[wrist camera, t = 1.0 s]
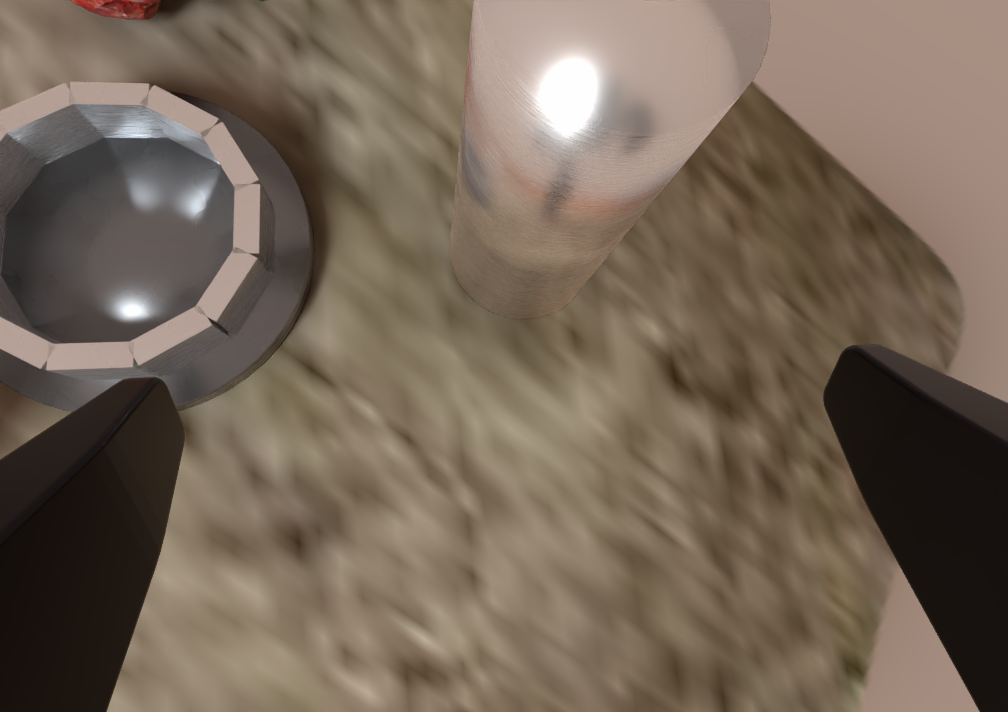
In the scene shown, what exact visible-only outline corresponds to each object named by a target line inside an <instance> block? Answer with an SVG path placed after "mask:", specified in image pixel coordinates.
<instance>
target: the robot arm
mask: <svg viewBox="0 0 1008 712" xmlns="http://www.w3.org/2000/svg"><path fill="white" fill-rule="evenodd" d="M823 401H824V406H825V409H826V412H827V414H828V417H829V419H830V421H831V424H832V426H833V429H834V431H835V433H836V436H837V438H838V440H839V443H840V445H841V448H842V450H843V452H844V455H845V457H846V459H847V462H848V464H849V467H850V469H851V471H852V474H853V476H854V478H855V481H856V483H857V486H858V488H859V490H860V492H861V494H862V497H863V499H864V501H865V503H866V505H867V507H868V509H869V511H870V513H871V515H872V517H873V518H874V520H875V522H876V524H877V526H878V527H879V529H880V531H881V533H882V535H883V537H884V538H885V540H886V542H887V544H888V546H889V547H890V549H891V551H892V553H893V555H894V557H895V558H896V560H897V562H898V564H899V566H900V568H901V569H902V571H903V573H904V575H905V577H906V578H907V580H908V582H909V584H910V586H911V588H912V589H913V591H914V593H915V595H916V597H917V598H918V600H919V602H920V604H921V606H922V608H923V609H924V611H925V613H926V615H927V617H928V618H929V620H930V622H931V624H932V626H933V627H934V629H935V631H936V633H937V635H938V637H939V638H940V640H941V642H942V644H943V646H944V648H945V649H946V651H947V653H948V655H949V657H950V658H951V660H952V662H953V664H954V666H955V668H956V669H957V671H958V673H959V675H960V676H961V679H962V680H963V682H964V684H965V686H966V687H967V689H968V691H969V693H970V695H971V697H972V699H973V700H974V702H975V704H976V706H977V707H978V710H979V711H980V712H1008V403H1007V402H1004V401H1002V400H1000V399H998V398H995V397H993V396H991V395H989V394H987V393H985V392H982V391H980V390H978V389H976V388H974V387H972V386H969V385H967V384H965V383H963V382H961V381H958V380H956V379H954V378H952V377H950V376H947V375H945V374H943V373H941V372H939V371H936V370H934V369H932V368H930V367H928V366H926V365H923V364H921V363H919V362H917V361H915V360H912V359H910V358H908V357H906V356H904V355H901V354H899V353H897V352H895V351H893V350H890V349H888V348H886V347H884V346H881V345H876V344H870V345H852V346H849V347H847V348H846V349H845V350H844V351H843V352H842V353H841V355H840V357H839V359H838V361H837V363H836V366H835V368H834V370H833V372H832V374H831V376H830V379H829V381H828V383H827V385H826V387H825V390H824V395H823ZM184 441H185V432H184V426H183V423H182V420H181V418H180V415H179V413H178V411H177V408H176V406H175V403H174V401H173V399H172V396H171V394H170V392H169V389H168V387H167V385H166V383H165V382H164V381H163V380H162V379H160V378H158V377H140V378H127V379H123V380H121V381H119V382H118V383H116V384H115V385H113V386H112V387H110V388H109V389H107V390H106V391H104V392H103V393H101V394H99V395H98V396H96V397H95V398H93V399H92V400H90V401H89V402H87V403H86V404H84V405H83V406H81V407H80V408H78V409H77V410H75V411H74V412H72V413H71V414H69V415H68V416H66V417H64V418H63V419H61V420H60V421H58V422H57V423H55V424H54V425H52V426H51V427H49V428H48V429H46V430H45V431H43V432H42V433H40V434H39V435H37V436H36V437H34V438H32V439H31V440H29V441H28V442H26V443H25V444H23V445H22V446H20V447H19V448H17V449H16V450H14V451H13V452H11V453H10V454H8V455H7V456H5V457H4V458H2V459H1V460H0V712H107V709H108V706H109V703H110V700H111V697H112V694H113V691H114V688H115V685H116V682H117V679H118V676H119V674H120V671H121V668H122V665H123V662H124V659H125V656H126V653H127V650H128V647H129V644H130V641H131V638H132V635H133V633H134V630H135V627H136V624H137V621H138V618H139V615H140V612H141V609H142V606H143V603H144V600H145V597H146V594H147V592H148V589H149V586H150V583H151V580H152V577H153V574H154V571H155V568H156V565H157V561H158V558H159V555H160V552H161V548H162V544H163V540H164V536H165V531H166V527H167V522H168V517H169V513H170V508H171V503H172V498H173V494H174V489H175V484H176V480H177V475H178V470H179V465H180V461H181V456H182V451H183V446H184Z"/></svg>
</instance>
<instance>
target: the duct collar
mask: <svg viewBox="0 0 1008 712" xmlns="http://www.w3.org/2000/svg"><path fill="white" fill-rule="evenodd" d="M313 263H314V240H313V230H312V225H311V221H310V216H309V212H308V209H307V207H306V204H305V201H304V199H303V196H302V194H301V191H300V189H299V187H298V185H297V182H296V181H295V179H294V177H293V175H292V173H291V171H290V170H289V168H288V166H287V164H286V163H285V161H284V160H283V159H282V157H281V156H280V155H279V153H278V152H277V151H276V149H275V148H274V147H273V146H272V145H271V144H270V143H269V142H268V141H267V140H266V139H265V138H264V137H263V136H262V135H261V134H260V133H259V132H258V131H256V130H255V129H254V128H253V127H251V126H250V125H249V124H248V123H246V122H245V121H244V120H242V119H240V118H239V117H237V116H235V115H234V114H232V113H231V112H229V111H227V110H225V109H223V108H221V107H219V106H217V105H214V104H212V103H210V102H208V101H205V100H202V99H199V98H196V97H192V96H189V95H186V94H182V93H176V92H171V91H166V90H163V89H161V88H159V87H157V86H155V85H154V86H153V87H151V86H150V84H145V83H105V82H71V83H70V87H69V86H68V85H67V84H66V83H63V84H61V85H59V86H56V87H54V88H52V89H49V90H47V91H45V92H43V93H40V94H38V95H36V96H33V97H31V98H29V99H26V100H24V101H22V102H19V103H17V104H15V105H12V106H10V107H8V108H5V109H3V110H1V111H0V381H1V382H2V383H4V384H5V385H7V386H9V387H10V388H12V389H14V390H15V391H17V392H19V393H20V394H22V395H24V396H26V397H29V398H31V399H34V400H36V401H38V402H41V403H43V404H45V405H49V406H53V407H56V408H60V409H64V410H67V411H72V412H74V411H75V410H77V409H78V408H80V407H81V406H83V405H84V404H86V403H87V402H89V401H90V400H92V399H93V398H95V397H96V396H98V395H99V394H101V393H103V392H104V391H106V390H107V389H109V388H110V387H112V386H113V385H115V384H116V383H118V382H119V381H121V380H123V379H127V378H140V377H158V378H160V379H162V380H163V381H164V382H165V383H166V385H167V387H168V389H169V392H170V394H171V396H172V399H173V401H174V403H175V406H176V408H177V411H181V410H184V409H187V408H190V407H193V406H195V405H198V404H201V403H204V402H206V401H208V400H210V399H212V398H214V397H216V396H218V395H220V394H222V393H224V392H226V391H228V390H230V389H231V388H233V387H234V386H236V385H237V384H239V383H240V382H242V381H243V380H245V379H246V378H248V377H249V376H250V375H251V374H252V373H253V372H255V371H256V370H257V369H258V368H259V367H260V366H262V365H263V364H264V363H265V362H266V361H267V360H268V359H269V357H270V356H271V355H272V354H273V353H274V352H275V351H276V350H277V349H278V348H279V346H280V345H281V344H282V342H283V341H284V339H285V338H286V337H287V335H288V334H289V332H290V331H291V329H292V328H293V326H294V324H295V322H296V320H297V318H298V316H299V314H300V312H301V311H302V308H303V305H304V302H305V300H306V297H307V294H308V291H309V287H310V282H311V278H312V273H313Z"/></svg>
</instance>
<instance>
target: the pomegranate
mask: <svg viewBox="0 0 1008 712" xmlns="http://www.w3.org/2000/svg"><path fill="white" fill-rule="evenodd" d="M71 1H72V2H73V3H74V4H77V5H79V6H81V7H83V8H85V9H86V10H88V11H91V12H93V13H96V14H98V15H101V16H105V17H114V18H122V19H137V20H142V19H150V18H152V17H153V16H154V15H155V14H156V13H157V9H158V6H159V4H160V1H161V0H71ZM261 1H263V0H261Z"/></svg>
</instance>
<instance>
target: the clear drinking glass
mask: <svg viewBox="0 0 1008 712" xmlns="http://www.w3.org/2000/svg"><path fill="white" fill-rule="evenodd" d="M770 19H771V17H770V7H769V0H474V4H473V14H472V24H471V34H470V45H469V55H468V65H467V75H466V85H465V95H464V105H463V115H462V125H461V135H460V145H459V155H458V165H457V175H456V185H455V195H454V206H453V216H452V226H451V236H450V259H451V264H452V268H453V271H454V273H455V276H456V278H457V280H458V282H459V283H460V285H461V287H462V288H463V289H464V291H465V292H466V293H467V294H468V295H469V296H470V297H471V298H472V299H473V300H474V301H475V302H476V303H477V304H479V305H480V306H481V307H483V308H485V309H486V310H488V311H490V312H492V313H495V314H497V315H500V316H503V317H507V318H513V319H535V318H539V317H543V316H546V315H549V314H552V313H554V312H555V311H557V310H559V309H561V308H562V307H564V306H565V305H566V304H568V303H569V302H570V301H571V300H572V299H573V298H574V297H575V295H576V294H577V293H578V292H579V291H580V289H581V288H582V287H583V286H584V284H585V283H586V282H587V281H588V280H589V278H590V277H591V276H592V275H593V274H594V272H595V271H596V270H597V269H598V268H599V266H600V265H601V264H602V263H603V262H604V260H605V259H606V258H607V257H608V255H609V254H610V253H611V252H612V251H613V249H614V248H615V247H616V246H617V245H618V243H619V242H620V241H621V240H622V239H623V237H624V236H625V235H626V234H627V232H628V231H629V230H630V229H631V228H632V226H633V225H634V224H635V223H636V222H637V220H638V219H639V218H640V217H641V216H642V214H643V213H644V212H645V211H646V210H647V208H648V207H649V206H650V205H651V203H652V202H653V201H654V200H655V199H656V197H657V196H658V195H659V194H660V193H661V191H662V190H663V189H664V188H665V187H666V185H667V184H668V183H669V182H670V180H671V179H672V178H673V177H674V176H675V174H676V173H677V172H678V171H679V170H680V168H681V167H682V166H683V165H684V164H685V162H686V161H687V160H688V159H689V158H690V156H691V155H692V154H693V153H694V151H695V150H696V149H697V148H698V147H699V145H700V144H701V143H702V142H703V141H704V139H705V138H706V137H707V136H708V135H709V133H710V132H711V131H712V130H713V128H714V127H715V126H716V125H717V124H718V122H719V121H720V120H721V119H722V118H723V116H724V115H725V114H726V113H727V112H728V110H729V109H730V108H731V107H732V105H733V104H734V103H735V102H736V101H737V99H738V98H739V97H740V96H741V95H742V93H743V92H744V91H745V90H746V88H747V87H748V86H749V84H750V83H751V82H752V81H753V79H754V77H755V75H756V74H757V72H758V70H759V68H760V66H761V64H762V61H763V59H764V56H765V53H766V50H767V46H768V40H769V35H770Z"/></svg>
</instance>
